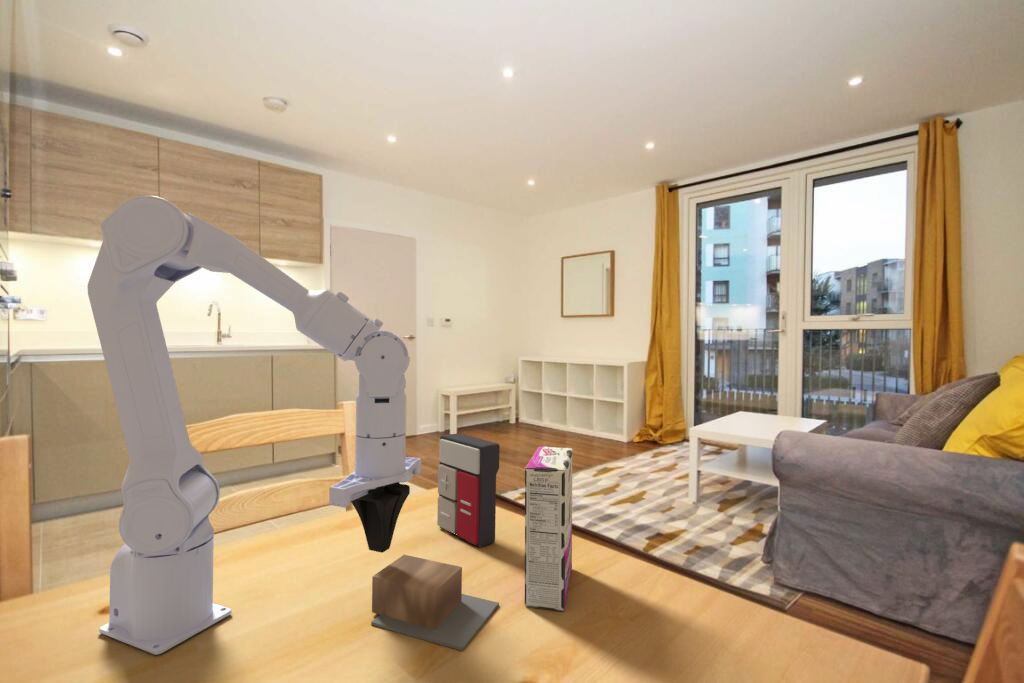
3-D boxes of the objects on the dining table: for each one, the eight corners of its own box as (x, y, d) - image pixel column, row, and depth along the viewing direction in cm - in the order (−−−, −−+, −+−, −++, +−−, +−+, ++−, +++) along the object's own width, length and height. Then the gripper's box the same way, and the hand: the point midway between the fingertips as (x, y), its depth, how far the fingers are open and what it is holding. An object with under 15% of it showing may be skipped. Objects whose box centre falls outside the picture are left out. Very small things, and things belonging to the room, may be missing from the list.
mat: (371, 624, 52) (371, 621, 52) (417, 585, 60) (417, 583, 60) (462, 650, 48) (462, 647, 48) (498, 605, 56) (498, 602, 56)
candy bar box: (535, 564, 67) (537, 445, 67) (572, 568, 66) (574, 447, 66) (521, 608, 56) (523, 465, 56) (564, 613, 55) (567, 468, 55)
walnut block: (372, 576, 54) (434, 591, 51) (403, 554, 59) (461, 567, 56) (371, 612, 54) (434, 629, 51) (403, 587, 59) (461, 601, 56)
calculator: (434, 527, 79) (435, 435, 79) (455, 521, 82) (457, 432, 82) (476, 550, 71) (478, 447, 71) (498, 542, 74) (500, 443, 74)
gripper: (368, 449, 49) (366, 584, 49) (442, 426, 62) (440, 532, 62) (314, 442, 51) (312, 570, 52) (396, 422, 65) (394, 523, 65)
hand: (379, 549), depth 57 cm, fingers closed
